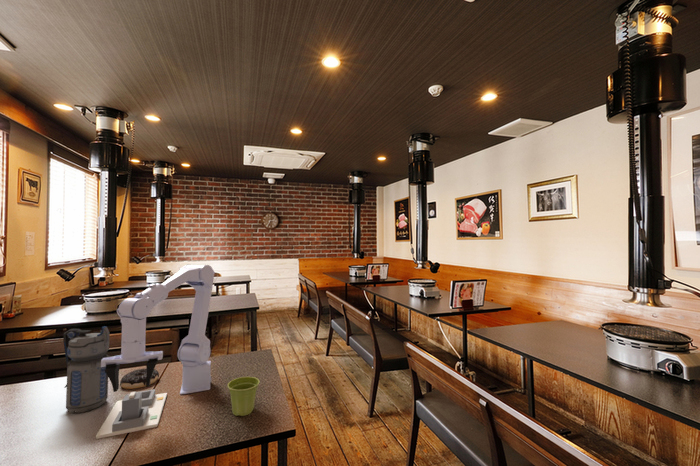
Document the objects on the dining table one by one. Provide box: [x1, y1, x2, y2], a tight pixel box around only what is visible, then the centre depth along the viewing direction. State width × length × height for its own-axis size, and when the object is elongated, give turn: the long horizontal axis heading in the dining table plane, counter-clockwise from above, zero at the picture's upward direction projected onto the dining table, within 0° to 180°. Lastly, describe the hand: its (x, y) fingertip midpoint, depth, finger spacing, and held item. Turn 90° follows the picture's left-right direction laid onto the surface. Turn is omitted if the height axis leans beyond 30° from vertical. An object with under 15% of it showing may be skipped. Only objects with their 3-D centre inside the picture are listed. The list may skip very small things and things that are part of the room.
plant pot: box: [227, 376, 260, 417], centre depth 96 cm, size 9×9×9 cm
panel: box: [95, 388, 168, 440], centre depth 94 cm, size 14×20×3 cm
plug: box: [121, 391, 142, 421], centre depth 89 cm, size 4×4×8 cm
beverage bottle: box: [62, 325, 111, 414], centre depth 99 cm, size 10×13×25 cm
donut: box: [119, 367, 160, 390], centre depth 115 cm, size 11×12×4 cm
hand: (132, 387), depth 89 cm, fingers open, 7 cm apart
